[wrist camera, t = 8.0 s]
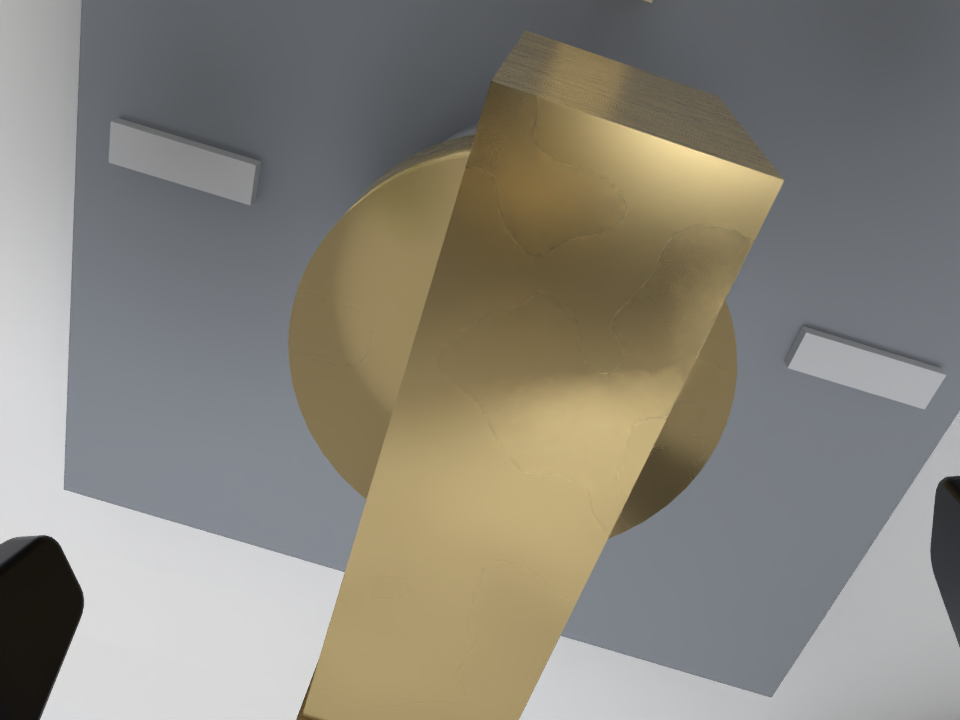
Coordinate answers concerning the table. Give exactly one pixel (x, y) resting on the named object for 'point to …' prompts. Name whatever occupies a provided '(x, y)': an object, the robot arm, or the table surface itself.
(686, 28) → the post base
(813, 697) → the table surface
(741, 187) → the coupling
